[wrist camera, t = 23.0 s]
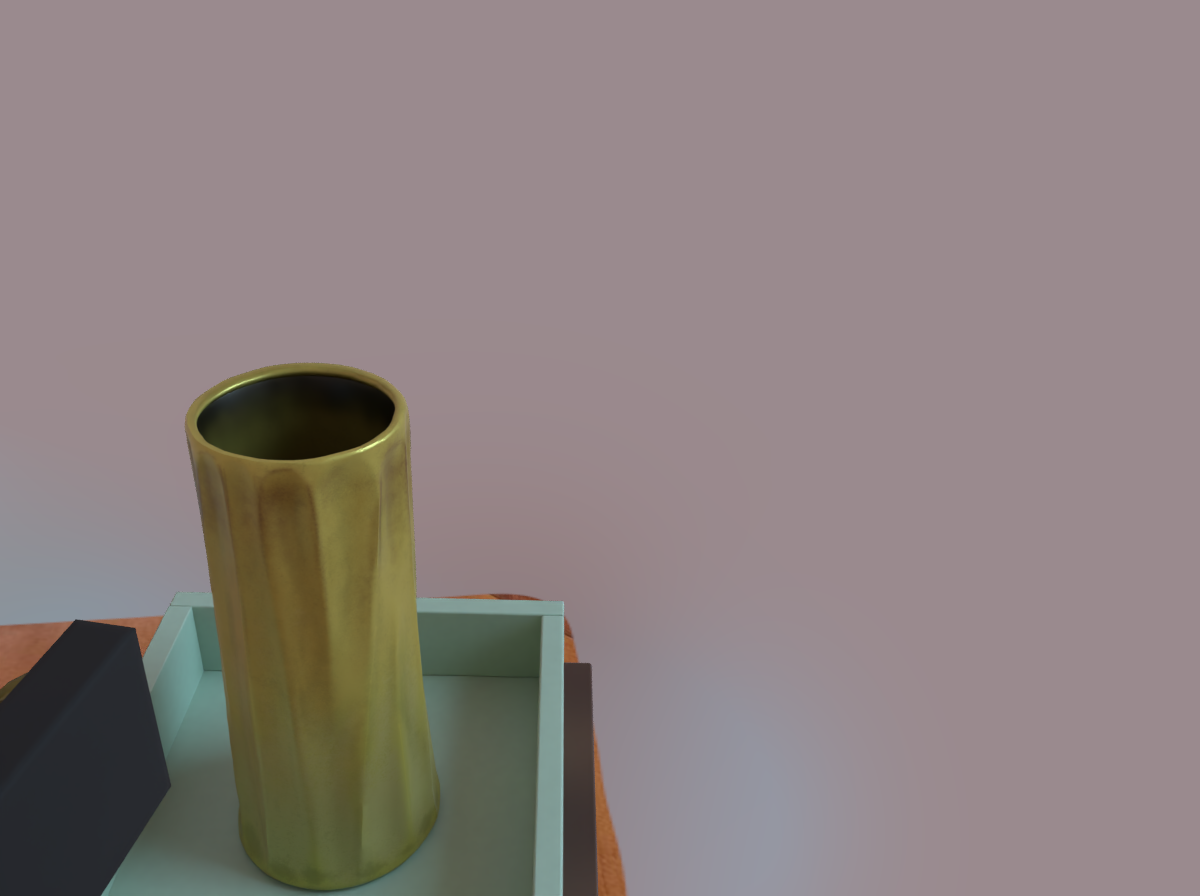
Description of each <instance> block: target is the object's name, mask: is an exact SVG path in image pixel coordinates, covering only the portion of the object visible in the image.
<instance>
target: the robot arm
mask: <svg viewBox="0 0 1200 896" xmlns="http://www.w3.org/2000/svg"><path fill="white" fill-rule="evenodd" d="M170 787H171V782H170V778H169V774H168V769H167V765H166V761H165V756H164V752H163V747H162V743H161V739H160V734H159V730H158V726H157V721H156V717H155V712H154V708H153V704H152V699H151V695H150V691H149V686H148V682H147V677H146V673H145V669H144V664H143V660H142V656H141V651H140V647H139V642H138V638H137V634H136V629H135V628H131V627H124V626H117V625H110V624H103V623H96V622H90V621H83V620H75V621H74V622H73V623H72V624H71V625H70V626H69V627H68V629H67V630H66V631H65V632H64V633H63V634H62V635H61V636H60V638H59V639H58V640H57V641H56V642H55V643H54V644H53V645H52V646H51V648H50V649H49V650H48V651H47V652H46V653H45V654H44V655H43V656H42V658H41V659H40V660H39V661H38V662H37V663H36V664H35V665H34V666H33V668H32V669H31V670H30V671H29V672H28V673H27V674H26V675H25V676H24V678H23V679H22V680H21V681H20V682H19V683H18V684H17V685H16V686H15V688H14V689H13V690H12V691H11V692H10V693H9V694H8V695H7V696H6V698H5V699H4V700H3V701H2V702H1V703H0V896H101V895H102V893H103V892H104V890H105V889H106V887H107V886H108V884H109V882H110V881H111V879H112V878H113V876H114V875H115V873H116V872H117V870H118V868H119V867H120V865H121V864H122V862H123V861H124V859H125V857H126V856H127V854H128V853H129V851H130V850H131V848H132V847H133V845H134V843H135V842H136V840H137V839H138V837H139V836H140V834H141V832H142V831H143V829H144V828H145V826H146V825H147V823H148V822H149V820H150V818H151V817H152V815H153V814H154V812H155V811H156V809H157V807H158V806H159V804H160V803H161V801H162V800H163V798H164V797H165V795H166V793H167V792H168V790H169V789H170Z"/></svg>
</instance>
